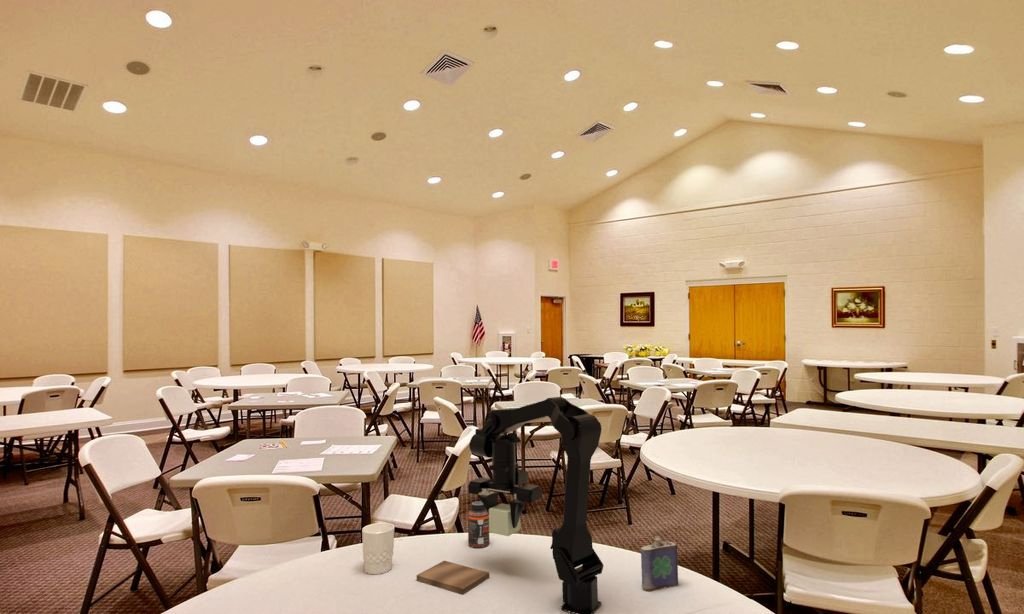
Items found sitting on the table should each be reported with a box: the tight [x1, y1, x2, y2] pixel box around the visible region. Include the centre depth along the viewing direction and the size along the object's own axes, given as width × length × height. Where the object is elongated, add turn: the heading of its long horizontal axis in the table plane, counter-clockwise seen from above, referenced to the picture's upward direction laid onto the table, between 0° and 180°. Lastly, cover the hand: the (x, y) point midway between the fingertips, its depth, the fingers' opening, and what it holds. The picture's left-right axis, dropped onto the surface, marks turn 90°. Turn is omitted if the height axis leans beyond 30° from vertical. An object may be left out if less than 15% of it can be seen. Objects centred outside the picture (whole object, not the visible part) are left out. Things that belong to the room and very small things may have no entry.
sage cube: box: [489, 503, 521, 537], centre depth 126 cm, size 6×6×6 cm
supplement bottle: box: [467, 500, 490, 549], centre depth 144 cm, size 6×6×11 cm
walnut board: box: [416, 560, 490, 595], centre depth 122 cm, size 14×10×1 cm
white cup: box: [361, 522, 395, 575], centre depth 129 cm, size 8×8×10 cm
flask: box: [640, 535, 679, 592], centre depth 117 cm, size 9×3×11 cm, turn 109°
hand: (504, 525), depth 126 cm, fingers closed on sage cube, 5 cm apart
